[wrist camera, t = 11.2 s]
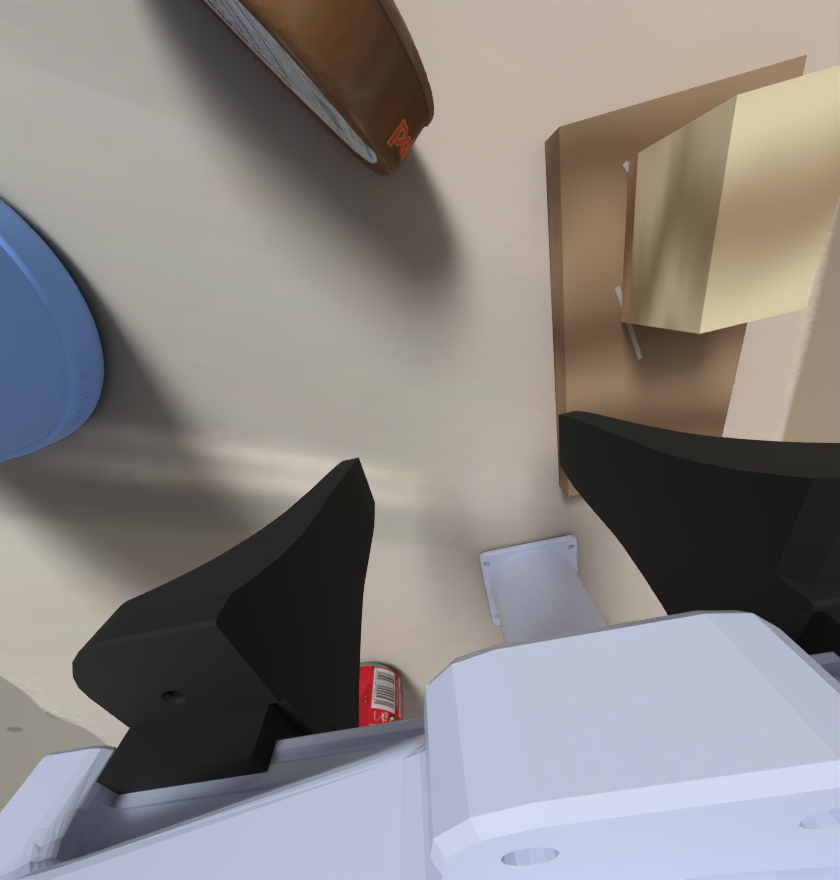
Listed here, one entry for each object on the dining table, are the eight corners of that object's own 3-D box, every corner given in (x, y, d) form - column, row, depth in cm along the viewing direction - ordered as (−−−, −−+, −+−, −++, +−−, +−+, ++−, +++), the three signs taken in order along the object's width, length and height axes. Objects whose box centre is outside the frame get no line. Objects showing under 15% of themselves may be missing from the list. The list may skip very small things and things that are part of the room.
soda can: (336, 692, 35) (305, 875, 24) (338, 655, 32) (303, 845, 21) (399, 694, 35) (396, 872, 24) (407, 657, 32) (407, 843, 21)
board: (696, 455, 23) (715, 466, 21) (559, 485, 23) (569, 497, 22) (768, 77, 14) (807, 54, 12) (545, 141, 14) (559, 126, 13)
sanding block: (697, 303, 16) (805, 308, 12) (620, 321, 17) (699, 333, 12) (722, 132, 13) (881, 53, 9) (629, 158, 14) (736, 94, 9)
